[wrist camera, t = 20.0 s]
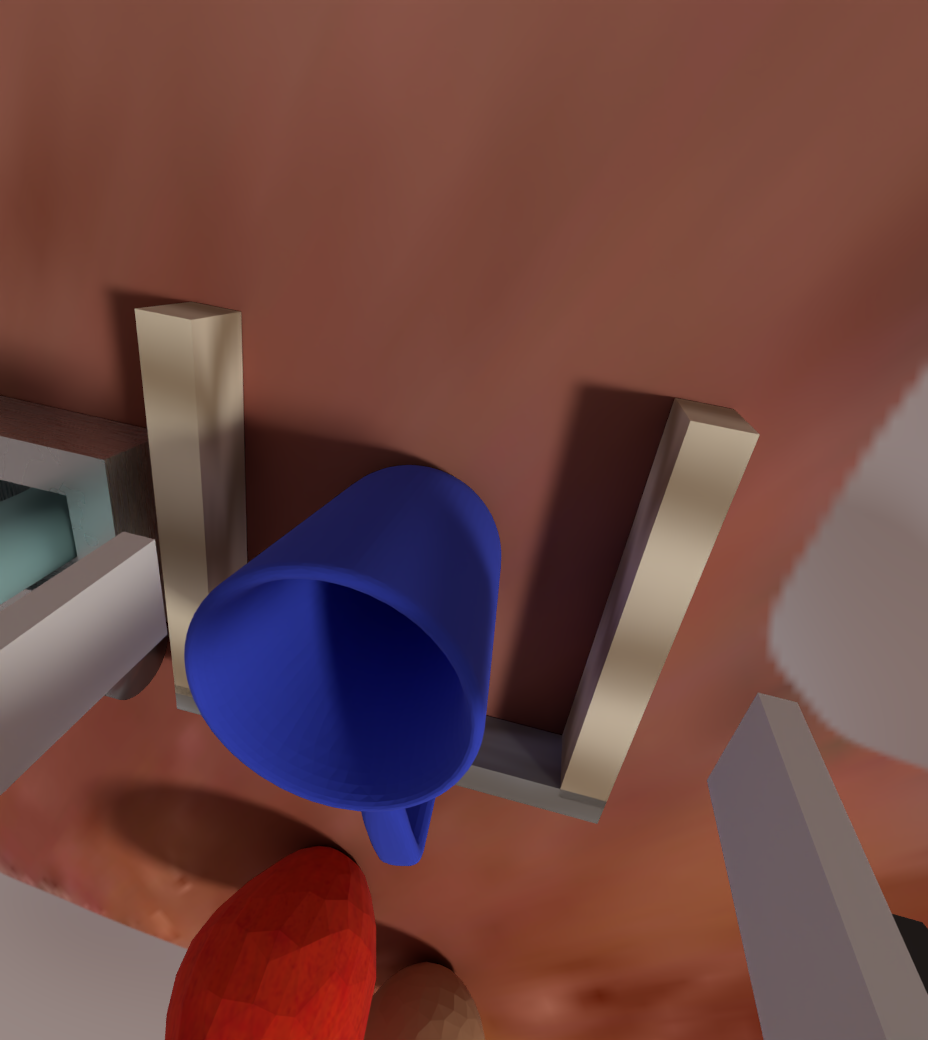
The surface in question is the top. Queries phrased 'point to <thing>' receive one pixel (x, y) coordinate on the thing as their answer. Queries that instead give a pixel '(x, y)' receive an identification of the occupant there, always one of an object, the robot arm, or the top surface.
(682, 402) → the bay
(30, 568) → the crank peg
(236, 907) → the apple
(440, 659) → the mug
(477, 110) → the top surface
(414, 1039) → the egg
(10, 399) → the block
